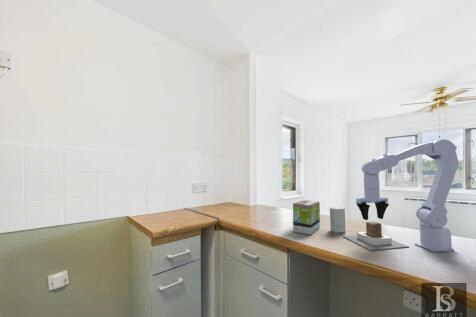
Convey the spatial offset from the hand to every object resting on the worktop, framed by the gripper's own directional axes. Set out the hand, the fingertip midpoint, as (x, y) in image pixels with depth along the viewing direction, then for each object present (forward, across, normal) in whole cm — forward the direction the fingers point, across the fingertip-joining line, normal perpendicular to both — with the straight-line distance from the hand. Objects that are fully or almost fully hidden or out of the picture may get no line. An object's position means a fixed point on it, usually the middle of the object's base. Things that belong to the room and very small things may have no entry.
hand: (372, 219), depth 89 cm
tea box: (+10, +20, -22) cm, 31 cm away
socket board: (+10, 0, 0) cm, 10 cm away
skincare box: (+10, +6, -16) cm, 20 cm away
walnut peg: (+10, 0, 0) cm, 10 cm away
